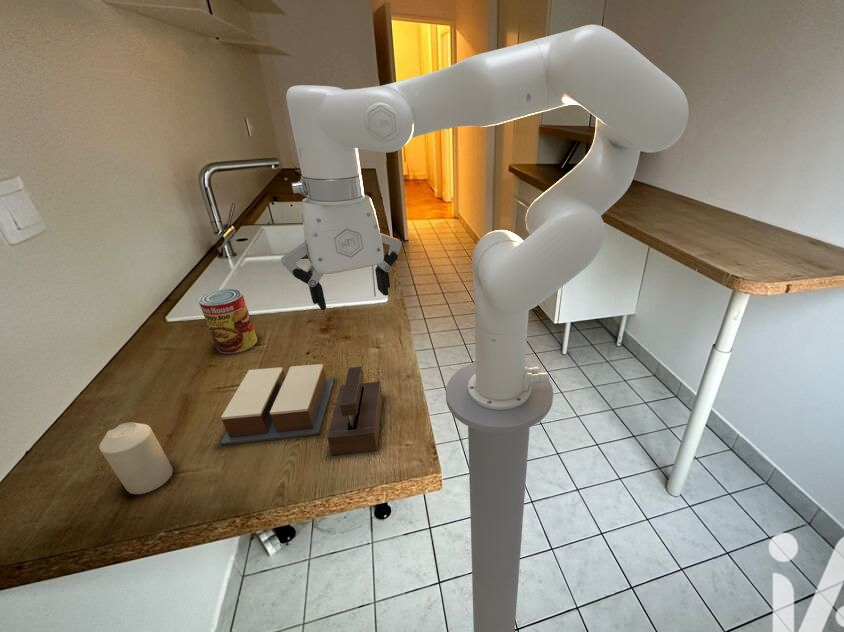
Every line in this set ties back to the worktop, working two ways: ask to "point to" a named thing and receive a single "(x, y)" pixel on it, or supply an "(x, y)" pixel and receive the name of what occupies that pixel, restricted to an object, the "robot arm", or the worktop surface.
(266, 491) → the worktop surface
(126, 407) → the worktop surface
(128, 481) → the candle
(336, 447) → the knife block
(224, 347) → the canned food
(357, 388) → the cake cutter
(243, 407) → the cake
